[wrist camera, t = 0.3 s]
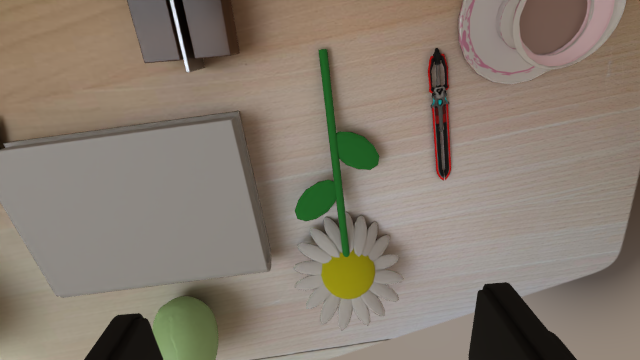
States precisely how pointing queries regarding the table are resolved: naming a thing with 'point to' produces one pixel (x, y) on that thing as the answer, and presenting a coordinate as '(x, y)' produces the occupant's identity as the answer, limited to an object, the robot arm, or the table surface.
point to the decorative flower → (343, 235)
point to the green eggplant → (186, 330)
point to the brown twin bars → (203, 23)
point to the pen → (440, 114)
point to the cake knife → (185, 37)
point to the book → (137, 204)
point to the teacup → (533, 35)
